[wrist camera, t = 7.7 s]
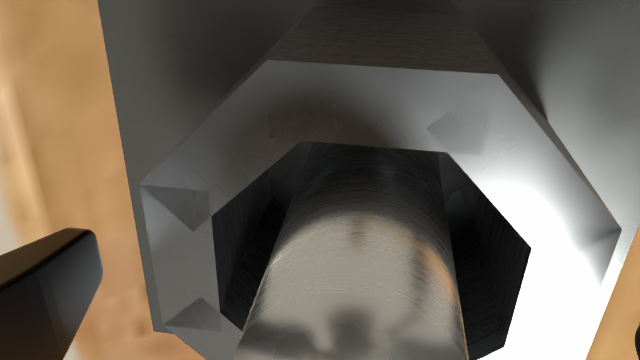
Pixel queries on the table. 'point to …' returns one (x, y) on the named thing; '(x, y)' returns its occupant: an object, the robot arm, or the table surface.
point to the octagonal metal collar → (393, 132)
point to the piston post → (376, 164)
